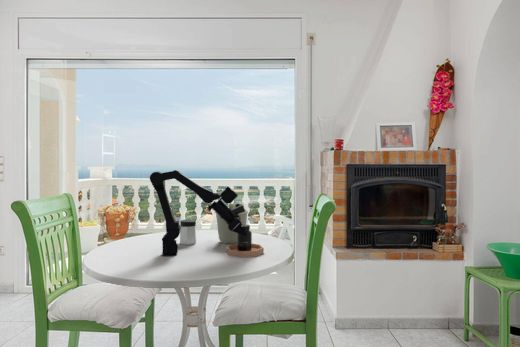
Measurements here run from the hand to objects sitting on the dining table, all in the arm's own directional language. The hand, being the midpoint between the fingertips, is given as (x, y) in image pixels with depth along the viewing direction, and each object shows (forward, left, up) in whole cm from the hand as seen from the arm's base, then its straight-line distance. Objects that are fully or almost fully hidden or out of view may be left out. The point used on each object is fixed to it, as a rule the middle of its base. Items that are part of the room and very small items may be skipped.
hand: (246, 233), depth 175 cm
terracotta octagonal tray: (-1, 0, -9) cm, 9 cm away
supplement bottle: (-1, 0, -8) cm, 8 cm away
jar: (-26, +27, -9) cm, 38 cm away
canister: (-3, +24, -9) cm, 26 cm away
